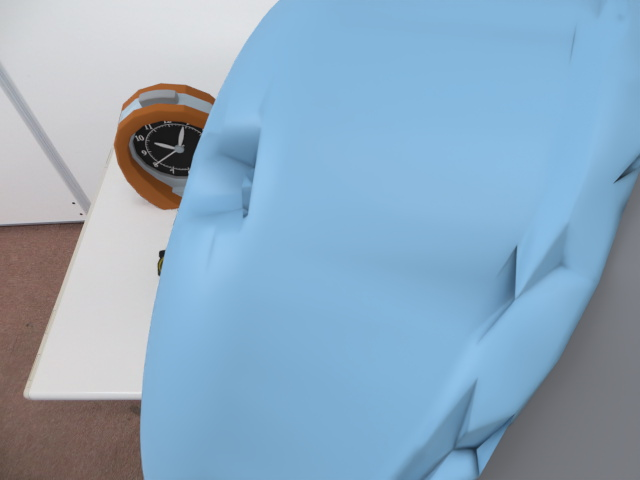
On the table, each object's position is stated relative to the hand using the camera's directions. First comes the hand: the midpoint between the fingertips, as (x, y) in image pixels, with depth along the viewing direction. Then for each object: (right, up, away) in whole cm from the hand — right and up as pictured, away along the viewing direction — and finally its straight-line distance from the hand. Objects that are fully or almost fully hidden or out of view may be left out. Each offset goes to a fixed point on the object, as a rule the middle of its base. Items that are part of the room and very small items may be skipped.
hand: (401, 110), depth 64 cm
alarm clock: (-39, -10, +17) cm, 44 cm away
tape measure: (-39, -27, +7) cm, 48 cm away
